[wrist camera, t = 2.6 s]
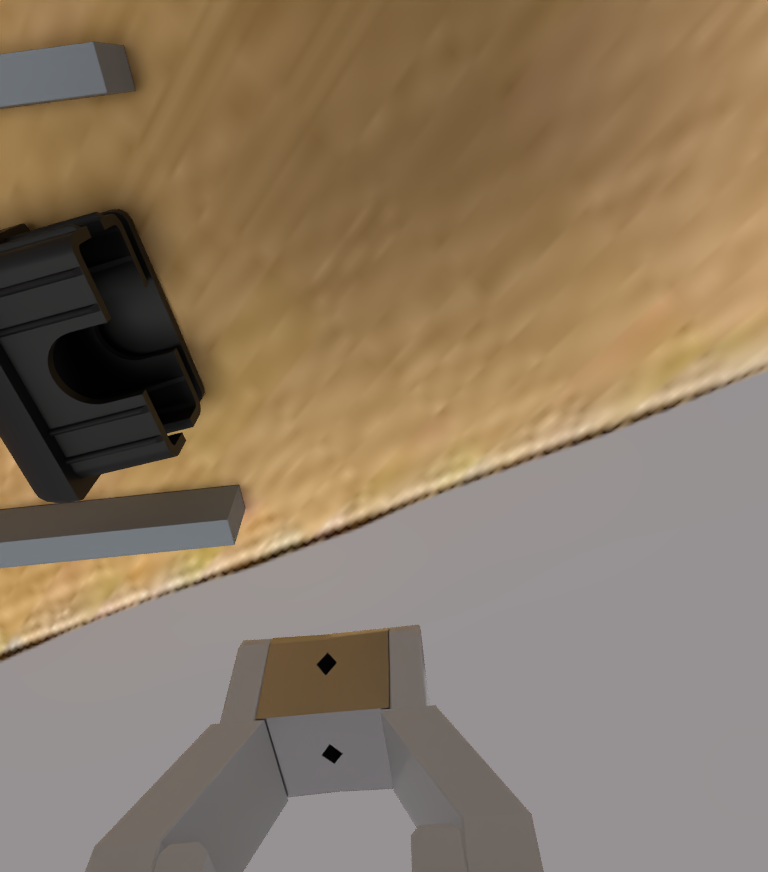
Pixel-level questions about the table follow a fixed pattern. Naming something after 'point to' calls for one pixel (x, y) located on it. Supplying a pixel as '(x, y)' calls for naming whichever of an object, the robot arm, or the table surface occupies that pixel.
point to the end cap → (88, 355)
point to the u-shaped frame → (115, 517)
